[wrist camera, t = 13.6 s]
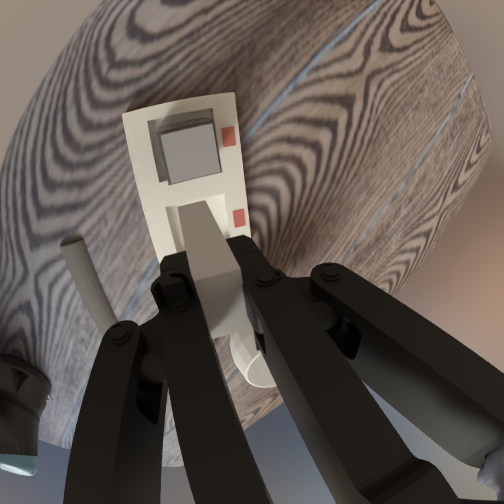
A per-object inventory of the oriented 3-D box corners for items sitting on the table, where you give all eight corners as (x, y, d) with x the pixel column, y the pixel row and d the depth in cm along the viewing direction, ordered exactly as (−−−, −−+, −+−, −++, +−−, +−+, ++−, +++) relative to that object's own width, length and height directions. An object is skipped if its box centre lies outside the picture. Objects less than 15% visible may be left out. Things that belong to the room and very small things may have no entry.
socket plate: (162, 264, 35) (162, 273, 33) (124, 113, 24) (121, 113, 23) (247, 242, 38) (252, 251, 36) (229, 92, 27) (234, 91, 25)
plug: (167, 168, 29) (168, 187, 22) (158, 127, 26) (156, 133, 20) (209, 158, 30) (224, 174, 23) (202, 117, 27) (215, 119, 21)
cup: (213, 262, 38) (243, 343, 25) (283, 256, 41) (335, 324, 29) (212, 318, 43) (238, 397, 30) (274, 310, 46) (313, 378, 34)
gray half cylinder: (107, 342, 39) (106, 350, 38) (58, 242, 29) (55, 249, 28) (129, 338, 40) (129, 346, 39) (85, 235, 30) (82, 241, 29)
